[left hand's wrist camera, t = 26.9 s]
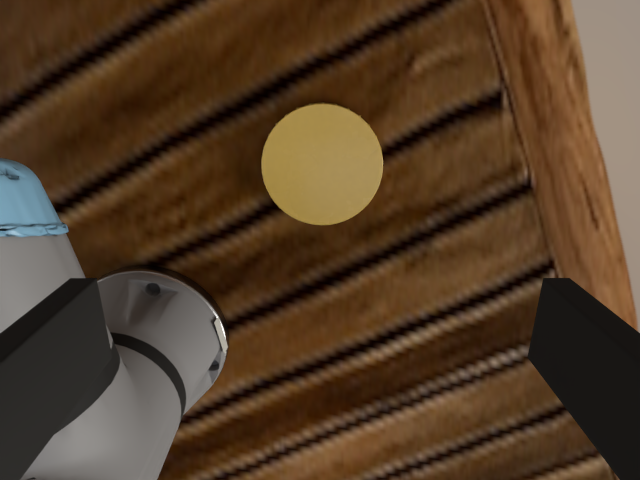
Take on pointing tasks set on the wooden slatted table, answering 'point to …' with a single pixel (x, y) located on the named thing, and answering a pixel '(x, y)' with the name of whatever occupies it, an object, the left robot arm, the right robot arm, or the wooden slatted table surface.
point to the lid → (322, 164)
